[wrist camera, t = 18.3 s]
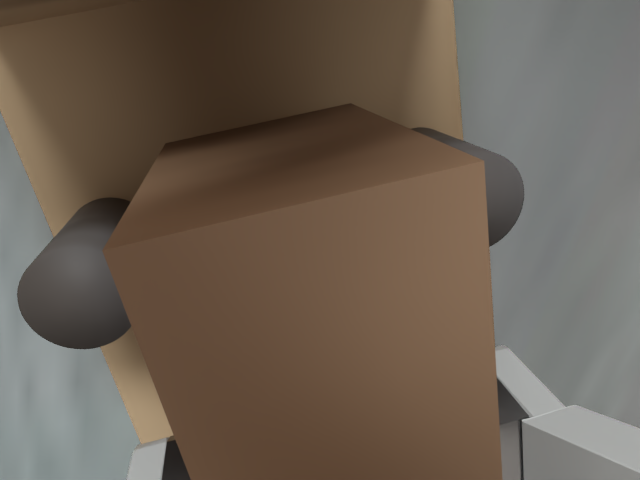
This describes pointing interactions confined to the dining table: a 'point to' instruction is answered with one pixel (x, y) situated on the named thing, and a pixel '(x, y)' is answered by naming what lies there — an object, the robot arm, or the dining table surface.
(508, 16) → the dining table surface
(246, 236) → the bar
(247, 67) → the board
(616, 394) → the dining table surface
